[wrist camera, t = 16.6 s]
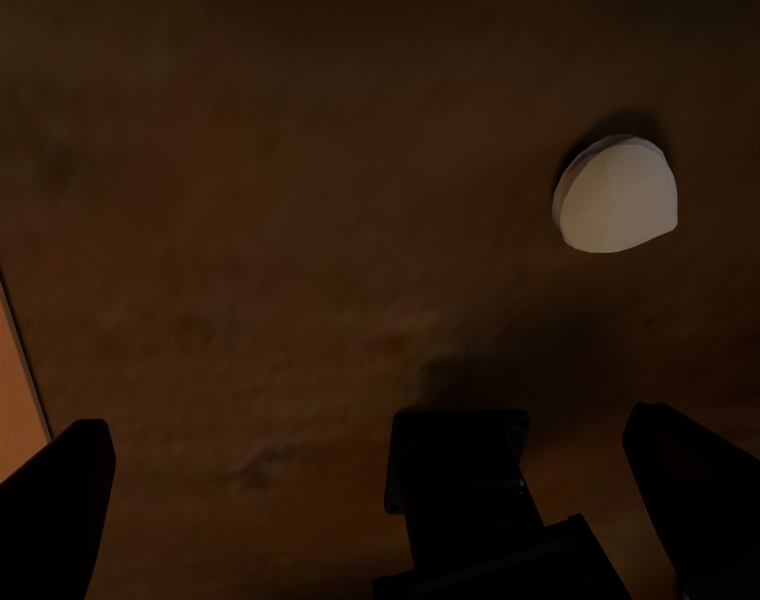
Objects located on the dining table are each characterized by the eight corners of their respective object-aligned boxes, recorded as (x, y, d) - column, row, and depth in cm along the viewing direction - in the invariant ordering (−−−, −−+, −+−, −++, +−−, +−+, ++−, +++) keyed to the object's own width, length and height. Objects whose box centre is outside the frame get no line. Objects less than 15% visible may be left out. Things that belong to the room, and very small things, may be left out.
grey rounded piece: (588, 108, 19) (624, 128, 17) (693, 163, 21) (737, 187, 19) (522, 216, 21) (547, 246, 19) (623, 259, 23) (656, 290, 21)
